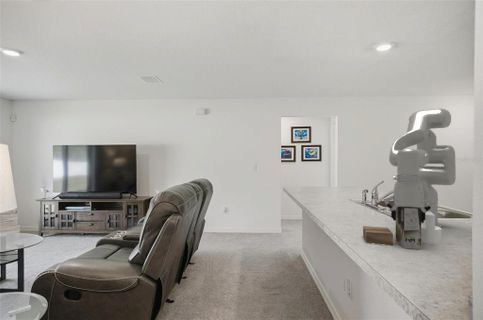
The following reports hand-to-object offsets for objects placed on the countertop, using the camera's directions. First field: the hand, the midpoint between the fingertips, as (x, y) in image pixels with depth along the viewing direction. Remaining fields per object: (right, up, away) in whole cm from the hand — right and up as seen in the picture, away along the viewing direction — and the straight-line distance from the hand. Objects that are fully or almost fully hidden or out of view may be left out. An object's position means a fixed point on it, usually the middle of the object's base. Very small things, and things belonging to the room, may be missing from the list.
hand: (407, 220), depth 105 cm
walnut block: (-9, -10, +6) cm, 15 cm away
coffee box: (0, -10, 0) cm, 10 cm away
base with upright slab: (+13, -10, +6) cm, 18 cm away
